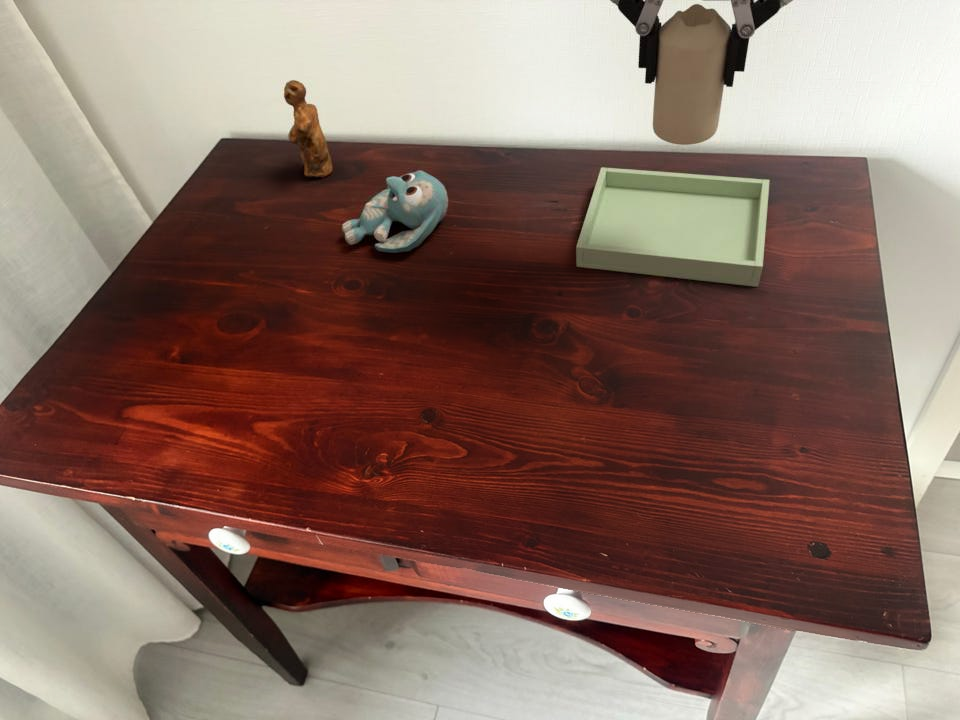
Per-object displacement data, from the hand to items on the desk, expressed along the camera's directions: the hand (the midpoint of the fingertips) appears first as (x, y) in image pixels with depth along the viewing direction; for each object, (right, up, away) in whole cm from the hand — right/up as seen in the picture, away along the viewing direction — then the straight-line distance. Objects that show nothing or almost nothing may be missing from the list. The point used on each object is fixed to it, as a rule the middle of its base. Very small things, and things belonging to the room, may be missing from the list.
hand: (690, 74), depth 62 cm
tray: (+3, -10, +16) cm, 19 cm away
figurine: (-37, -1, +31) cm, 48 cm away
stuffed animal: (-26, -9, +21) cm, 35 cm away
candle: (+1, -3, +4) cm, 5 cm away
